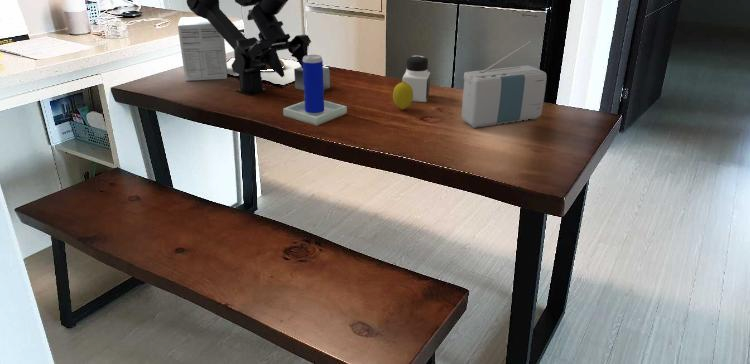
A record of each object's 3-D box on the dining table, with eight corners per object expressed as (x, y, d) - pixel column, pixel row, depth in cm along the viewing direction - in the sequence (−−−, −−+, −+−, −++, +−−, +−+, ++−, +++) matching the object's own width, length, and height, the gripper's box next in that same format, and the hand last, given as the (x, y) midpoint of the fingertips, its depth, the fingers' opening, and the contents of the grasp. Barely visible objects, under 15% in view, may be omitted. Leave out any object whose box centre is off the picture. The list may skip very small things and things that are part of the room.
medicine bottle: (426, 102, 161) (428, 61, 156) (401, 100, 163) (403, 59, 157) (429, 95, 168) (431, 54, 162) (405, 93, 169) (406, 53, 163)
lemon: (415, 108, 157) (416, 80, 153) (408, 114, 152) (409, 85, 149) (397, 105, 159) (397, 77, 155) (389, 111, 154) (389, 82, 151)
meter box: (295, 88, 172) (294, 68, 170) (311, 82, 178) (310, 64, 175) (314, 93, 168) (313, 73, 165) (330, 87, 173) (330, 68, 171)
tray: (283, 115, 150) (283, 108, 150) (314, 104, 159) (314, 97, 158) (316, 125, 144) (316, 118, 143) (346, 113, 152) (346, 106, 152)
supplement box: (227, 79, 181) (221, 23, 173) (185, 81, 178) (176, 25, 170) (227, 68, 192) (222, 15, 184) (187, 70, 189) (180, 17, 182)
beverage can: (311, 107, 154) (308, 53, 148) (327, 110, 152) (326, 55, 146) (301, 113, 150) (298, 57, 143) (318, 116, 148) (316, 60, 142)
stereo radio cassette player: (473, 131, 142) (480, 52, 133) (457, 120, 148) (463, 44, 139) (542, 121, 148) (553, 45, 140) (523, 111, 155) (533, 38, 146)
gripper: (277, 38, 166) (303, 83, 165) (227, 44, 152) (254, 94, 151) (298, 15, 159) (324, 63, 158) (247, 20, 145) (276, 72, 144)
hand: (295, 73), depth 153 cm, fingers open, 9 cm apart
